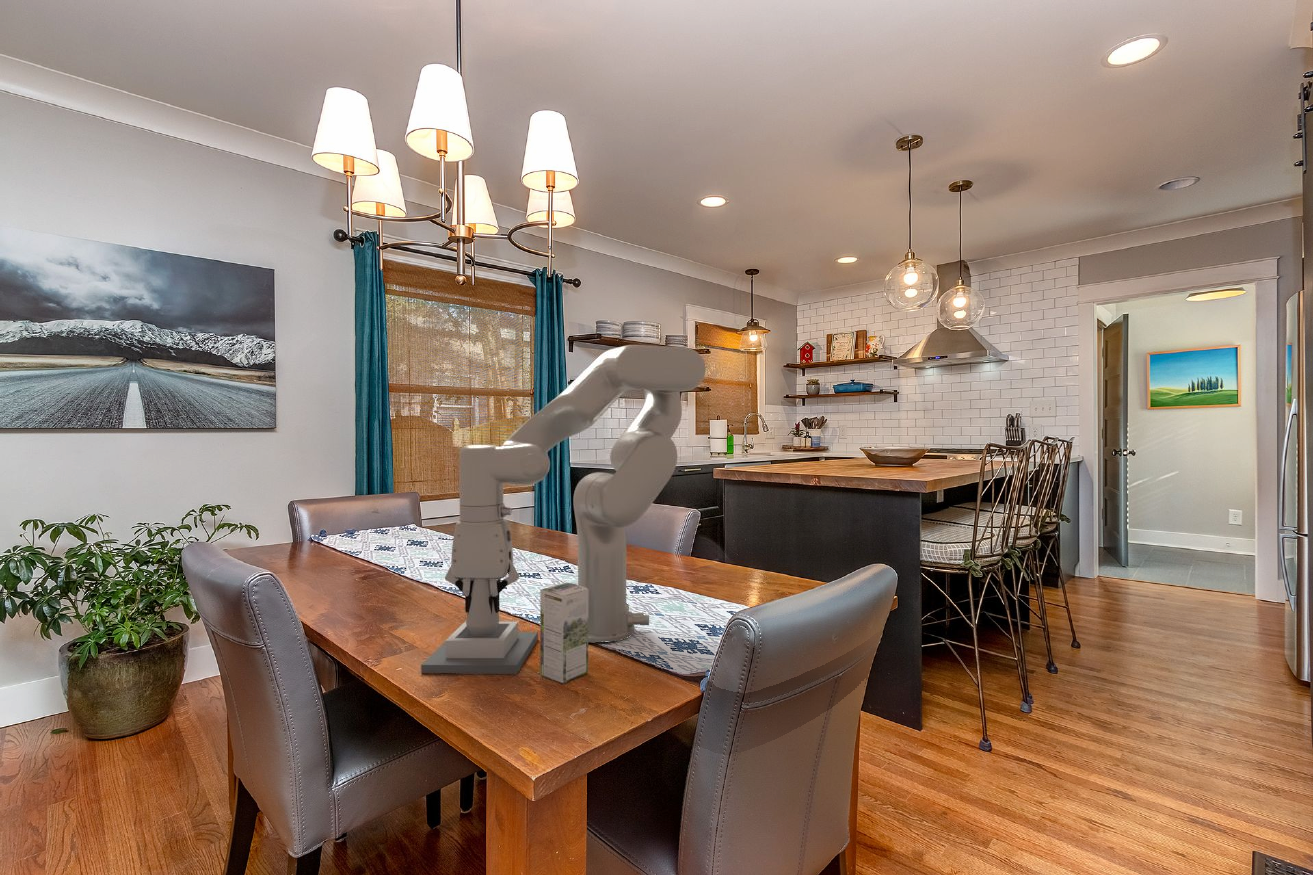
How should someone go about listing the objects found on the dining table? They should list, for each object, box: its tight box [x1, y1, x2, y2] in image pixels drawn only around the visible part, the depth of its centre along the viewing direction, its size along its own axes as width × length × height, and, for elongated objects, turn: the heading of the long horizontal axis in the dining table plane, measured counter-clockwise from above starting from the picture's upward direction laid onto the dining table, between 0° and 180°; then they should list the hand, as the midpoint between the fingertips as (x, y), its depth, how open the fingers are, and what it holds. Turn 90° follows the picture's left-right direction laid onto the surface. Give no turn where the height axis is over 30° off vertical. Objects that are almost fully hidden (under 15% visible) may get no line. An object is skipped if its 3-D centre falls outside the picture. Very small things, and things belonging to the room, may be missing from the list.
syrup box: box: [539, 582, 589, 684], centre depth 101 cm, size 6×6×14 cm
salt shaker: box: [465, 579, 500, 638], centre depth 109 cm, size 6×6×13 cm
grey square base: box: [420, 620, 539, 675], centre depth 110 cm, size 16×16×4 cm
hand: (482, 615), depth 110 cm, fingers closed on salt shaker, 3 cm apart
